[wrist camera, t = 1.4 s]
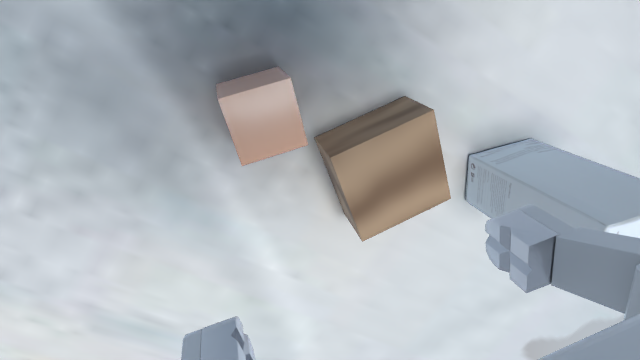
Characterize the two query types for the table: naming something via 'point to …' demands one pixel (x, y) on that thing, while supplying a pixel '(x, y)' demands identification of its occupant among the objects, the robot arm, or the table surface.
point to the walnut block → (386, 165)
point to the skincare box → (554, 187)
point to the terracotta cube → (262, 114)
